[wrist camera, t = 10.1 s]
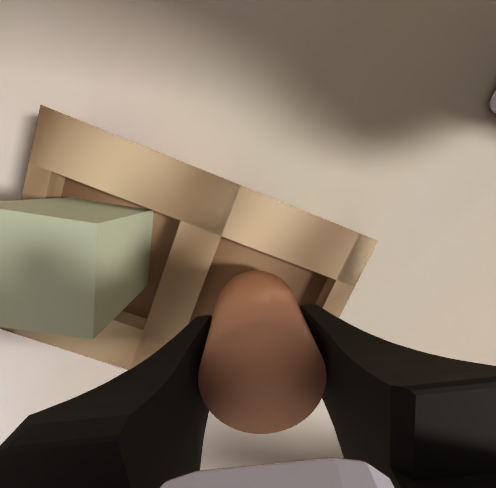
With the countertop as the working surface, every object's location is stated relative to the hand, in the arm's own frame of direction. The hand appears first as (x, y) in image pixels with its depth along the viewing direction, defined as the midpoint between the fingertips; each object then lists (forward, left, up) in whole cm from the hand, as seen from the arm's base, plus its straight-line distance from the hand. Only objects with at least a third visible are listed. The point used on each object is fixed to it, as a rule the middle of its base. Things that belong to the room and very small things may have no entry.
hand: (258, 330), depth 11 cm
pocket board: (+4, 0, -4) cm, 6 cm away
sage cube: (+8, 0, -3) cm, 9 cm away
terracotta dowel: (0, 0, -2) cm, 2 cm away
